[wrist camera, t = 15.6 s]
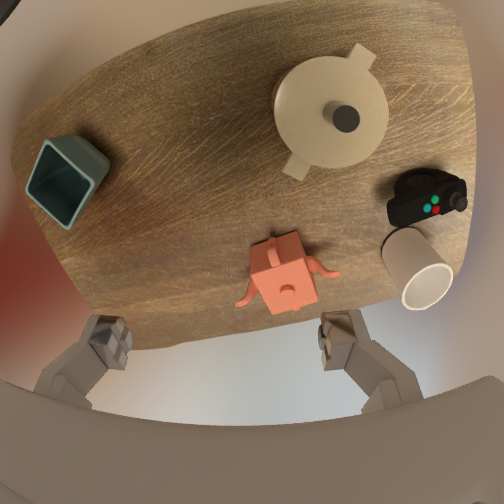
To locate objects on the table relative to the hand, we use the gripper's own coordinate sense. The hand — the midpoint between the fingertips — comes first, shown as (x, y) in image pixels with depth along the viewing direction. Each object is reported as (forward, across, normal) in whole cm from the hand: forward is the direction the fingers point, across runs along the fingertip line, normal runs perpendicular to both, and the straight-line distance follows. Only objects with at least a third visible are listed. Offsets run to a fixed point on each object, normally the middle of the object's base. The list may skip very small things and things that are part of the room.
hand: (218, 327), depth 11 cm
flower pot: (+28, +22, -1) cm, 35 cm away
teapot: (+28, -5, +18) cm, 33 cm away
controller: (+28, -24, +5) cm, 37 cm away
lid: (+19, -9, -5) cm, 22 cm away
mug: (+28, -26, +17) cm, 42 cm away
